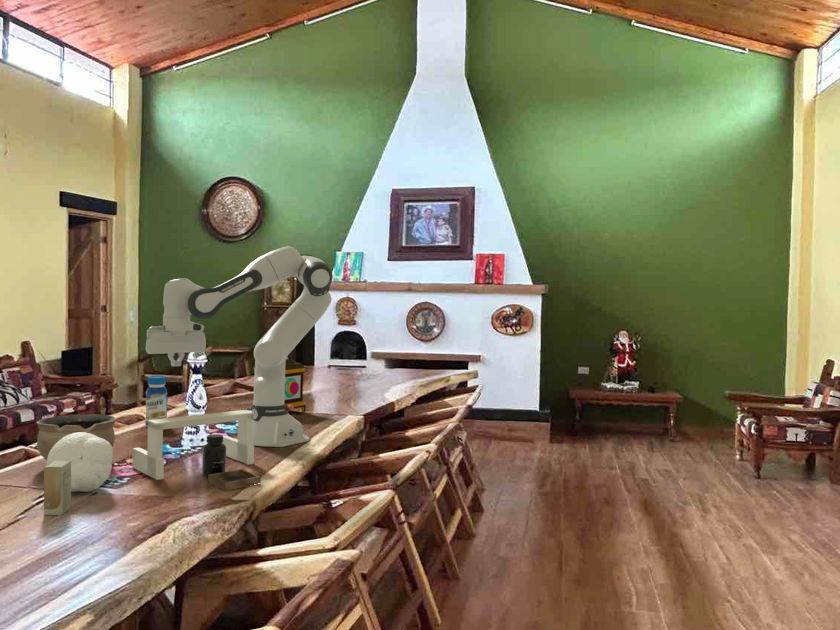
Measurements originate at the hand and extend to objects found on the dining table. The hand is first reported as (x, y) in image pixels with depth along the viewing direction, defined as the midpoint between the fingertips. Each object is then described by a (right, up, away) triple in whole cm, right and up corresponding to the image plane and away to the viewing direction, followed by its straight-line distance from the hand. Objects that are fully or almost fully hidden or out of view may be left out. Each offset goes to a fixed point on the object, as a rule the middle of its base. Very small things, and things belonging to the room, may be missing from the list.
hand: (176, 366), depth 246 cm
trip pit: (+29, -32, -37) cm, 57 cm away
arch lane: (+12, -30, -18) cm, 37 cm away
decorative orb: (-9, -31, -48) cm, 58 cm away
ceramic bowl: (-23, -30, -24) cm, 44 cm away
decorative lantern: (+20, -27, +78) cm, 85 cm away
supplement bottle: (+21, -31, -28) cm, 47 cm away
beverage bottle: (-22, -27, +41) cm, 53 cm away
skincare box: (-7, -32, -67) cm, 74 cm away
